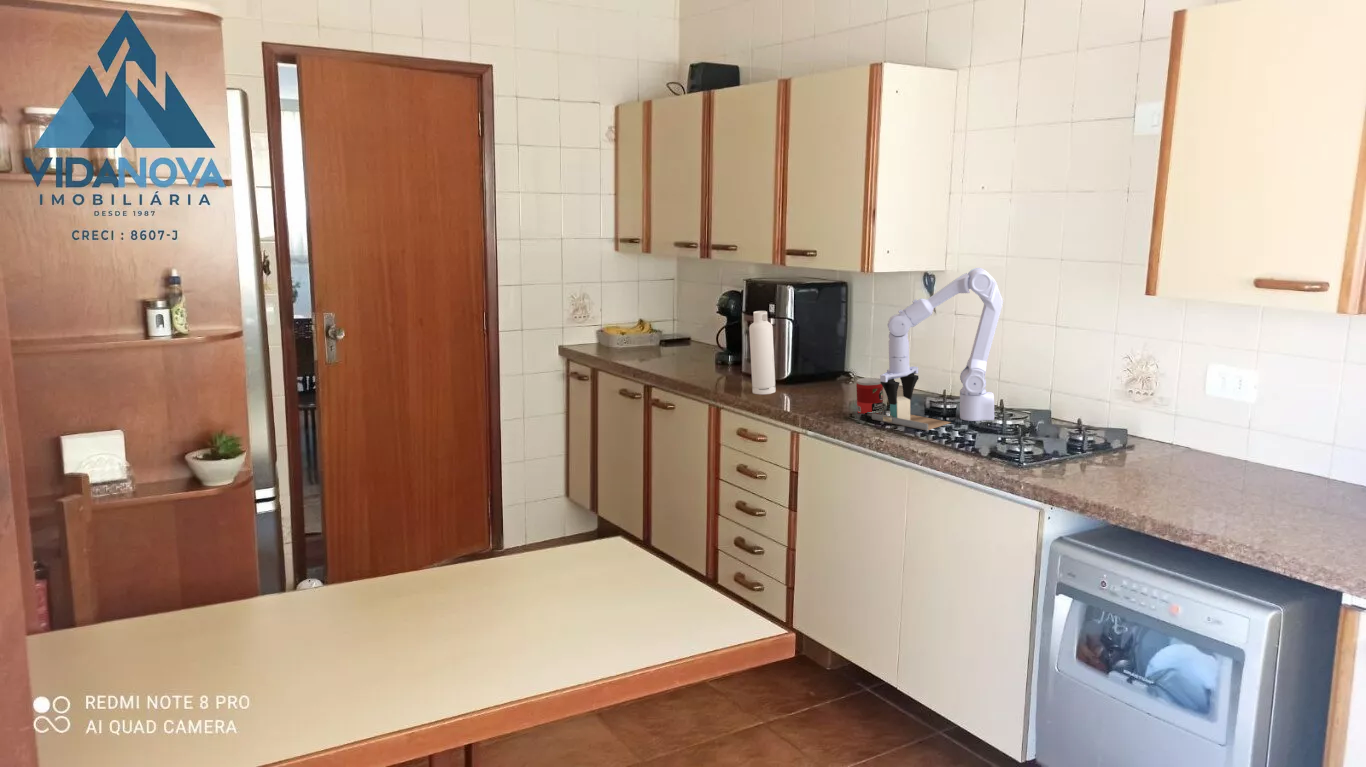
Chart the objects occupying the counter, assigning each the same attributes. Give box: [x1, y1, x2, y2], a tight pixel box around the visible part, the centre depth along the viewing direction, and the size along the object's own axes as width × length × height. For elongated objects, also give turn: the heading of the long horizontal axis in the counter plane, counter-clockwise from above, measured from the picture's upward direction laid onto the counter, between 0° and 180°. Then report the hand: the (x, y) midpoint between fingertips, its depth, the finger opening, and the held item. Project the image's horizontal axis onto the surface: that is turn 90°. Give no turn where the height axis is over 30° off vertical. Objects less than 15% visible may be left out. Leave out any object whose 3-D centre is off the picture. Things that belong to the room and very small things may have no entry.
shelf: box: [871, 413, 952, 432], centre depth 273 cm, size 20×11×3 cm, turn 37°
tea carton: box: [889, 395, 911, 420], centre depth 275 cm, size 5×4×6 cm
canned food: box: [855, 377, 884, 415], centre depth 286 cm, size 8×8×11 cm
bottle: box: [748, 310, 776, 395], centre depth 325 cm, size 8×8×28 cm
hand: (900, 401), depth 275 cm, fingers open, 6 cm apart
